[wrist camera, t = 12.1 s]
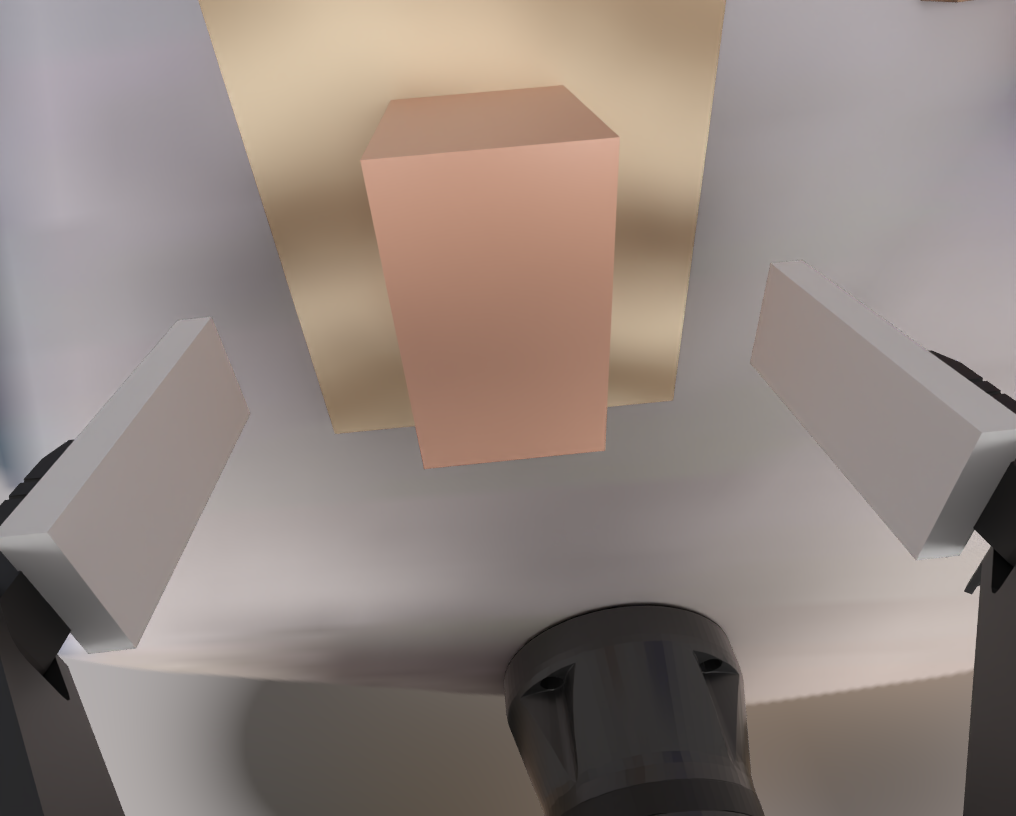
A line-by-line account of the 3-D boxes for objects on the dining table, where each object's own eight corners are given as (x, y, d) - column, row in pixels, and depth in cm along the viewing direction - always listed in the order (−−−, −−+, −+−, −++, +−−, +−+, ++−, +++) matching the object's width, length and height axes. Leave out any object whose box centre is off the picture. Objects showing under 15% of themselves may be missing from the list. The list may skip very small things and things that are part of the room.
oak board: (666, 387, 25) (672, 400, 24) (338, 419, 24) (335, 433, 24) (726, -113, 15) (741, -118, 14) (190, -71, 15) (175, -75, 14)
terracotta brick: (565, 328, 21) (604, 450, 16) (431, 341, 21) (423, 469, 16) (563, 85, 17) (619, 137, 11) (391, 99, 17) (360, 160, 11)
